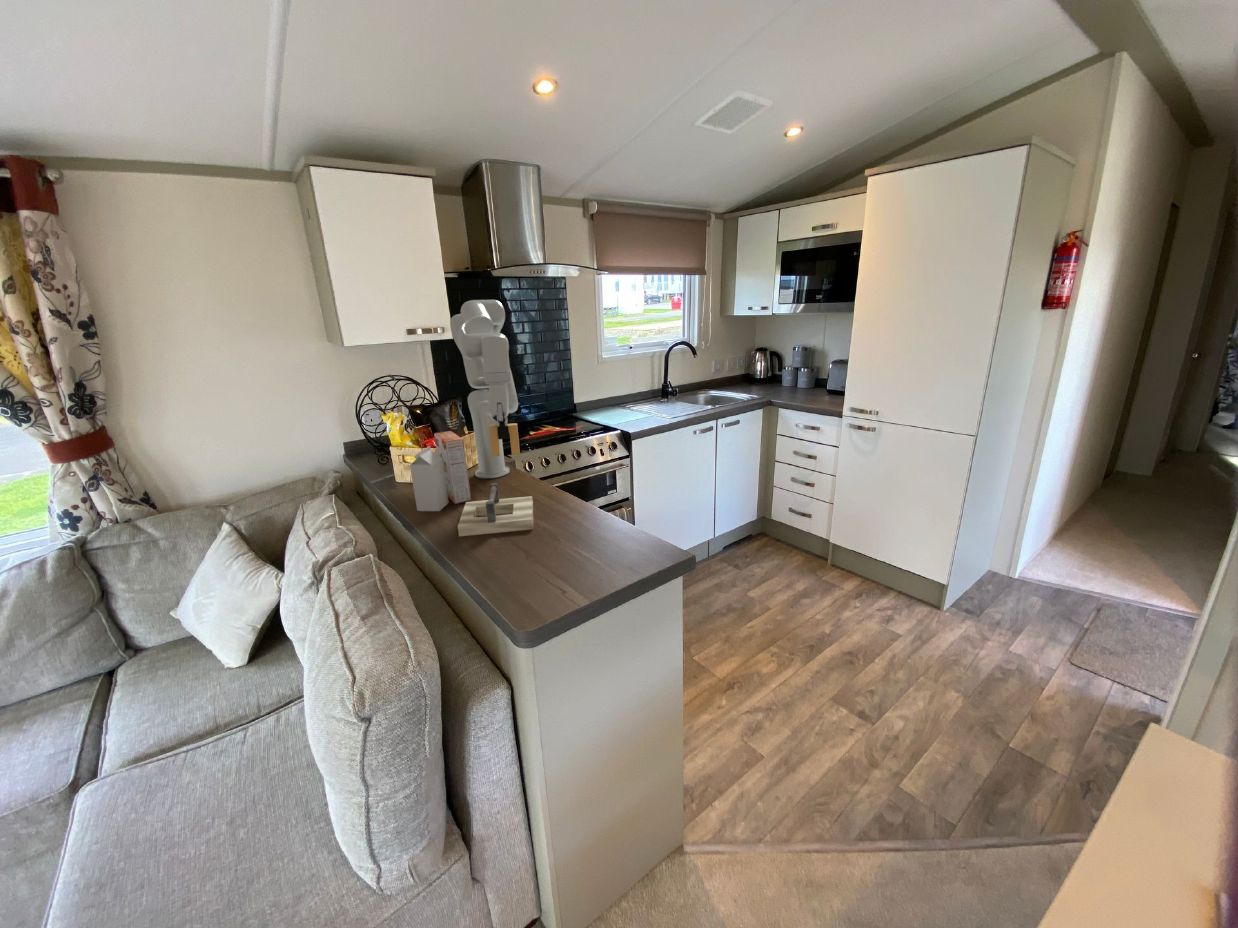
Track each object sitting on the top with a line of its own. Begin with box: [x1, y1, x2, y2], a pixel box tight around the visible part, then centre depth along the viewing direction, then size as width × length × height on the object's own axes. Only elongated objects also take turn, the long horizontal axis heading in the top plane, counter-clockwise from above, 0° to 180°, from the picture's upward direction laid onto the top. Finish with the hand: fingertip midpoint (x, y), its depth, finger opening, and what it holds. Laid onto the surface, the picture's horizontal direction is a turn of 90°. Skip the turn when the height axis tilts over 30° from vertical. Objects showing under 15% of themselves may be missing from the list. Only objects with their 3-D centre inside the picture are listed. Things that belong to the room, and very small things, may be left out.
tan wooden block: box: [489, 423, 521, 457], centre depth 153 cm, size 2×8×9 cm, turn 100°
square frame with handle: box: [457, 482, 534, 537], centre depth 143 cm, size 18×20×8 cm
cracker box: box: [433, 430, 473, 505], centre depth 161 cm, size 14×6×21 cm, turn 33°
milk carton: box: [409, 445, 450, 512], centre depth 152 cm, size 7×7×19 cm
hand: (504, 437), depth 152 cm, fingers closed on tan wooden block, 2 cm apart
